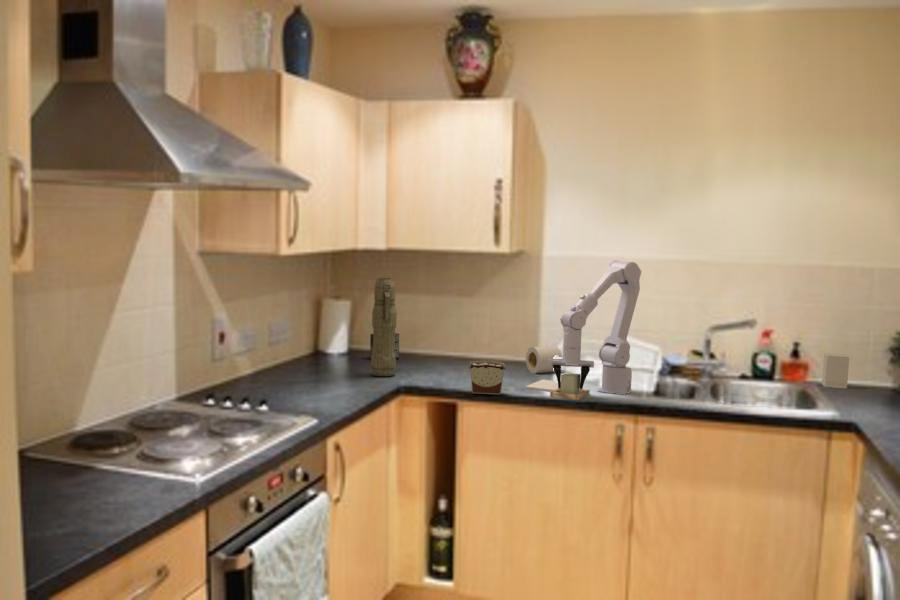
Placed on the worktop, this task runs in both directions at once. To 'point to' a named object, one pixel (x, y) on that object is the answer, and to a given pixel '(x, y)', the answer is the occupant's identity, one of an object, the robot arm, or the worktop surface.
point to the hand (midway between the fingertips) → (570, 388)
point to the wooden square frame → (569, 396)
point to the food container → (486, 376)
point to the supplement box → (835, 370)
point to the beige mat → (543, 386)
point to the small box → (395, 345)
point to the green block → (570, 383)
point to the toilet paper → (541, 358)
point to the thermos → (384, 328)
